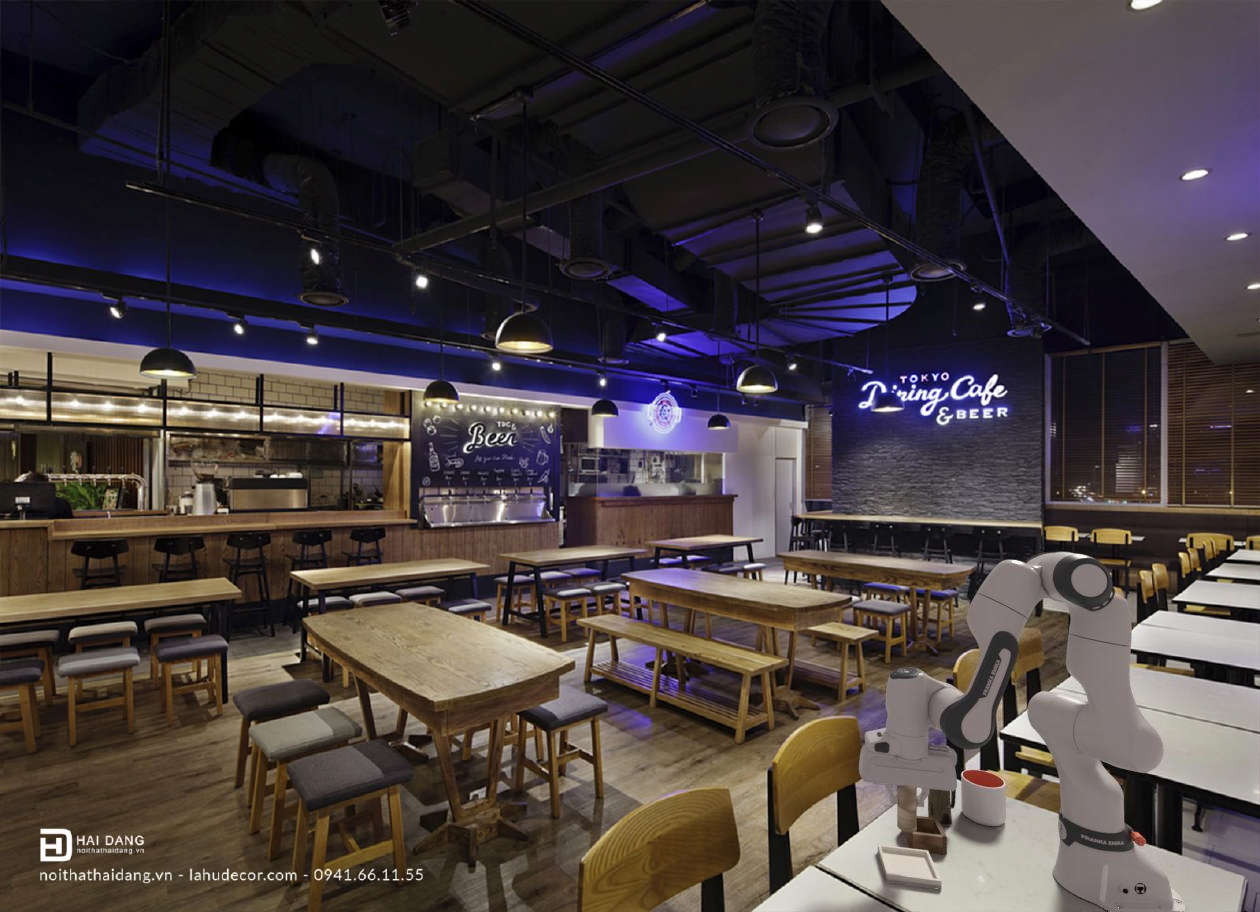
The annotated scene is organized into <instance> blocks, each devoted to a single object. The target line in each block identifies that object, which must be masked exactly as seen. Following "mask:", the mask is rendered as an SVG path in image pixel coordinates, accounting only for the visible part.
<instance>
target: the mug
mask: <svg viewBox="0 0 1260 912" xmlns="http://www.w3.org/2000/svg"><path fill="white" fill-rule="evenodd" d="M956 791H957V788H956V789H955V790H954V791H946V790H937V789H930V793H929V795H928V796H927V814H928V816H927V817H933V818H934V819H938V820H939V822H940V824H941V826H942V828H949V827H951V826H952V825H953V819H952V818H953V817H952V816H953V815H952V810H954V808H955V805H956V794H957V792H956Z"/></svg>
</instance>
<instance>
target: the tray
mask: <svg viewBox="0 0 1260 912" xmlns="http://www.w3.org/2000/svg"><path fill="white" fill-rule="evenodd" d="M877 854H878V858H879V861H880V863H881V867H882V870H883V874H884V877H885V881H886V883H887V882H888V883H889V882H890V883H889V884H894V885H896V884H897V885H903V886H911V887H919V888H925V889H926V888H927V889H933V888H938V889H937V890H940V889H942V878H941V877H940V874H939V872H938V870H937V867H936V865H935V863H934V861H933V858H932V856H931V855H930V854H931V853H929V851H928V850H920V849H911V848H907V847H901V846H893V845H886V844H885V845H883V844H877Z"/></svg>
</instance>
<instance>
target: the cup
mask: <svg viewBox="0 0 1260 912" xmlns="http://www.w3.org/2000/svg"><path fill="white" fill-rule="evenodd" d="M960 773H961V774H960V777H961V778H960V779H961V781H960V783H961V784H960V785H961V788H960V790H961V793H960V794H961V803H960V805H961V810H962V813H963V814H964V815H965V816H966V817H967V818H968V819H969V820H971V821H972V822H974V823H977V824H980V825H981V826H982V825H983V826H987V827H998V826H1002V825H1003V824H1004V823H1005V822H1006V819H1007V809H1006V807H1007V804H1006V800H1007V797H1006V791H1007V790H1006V781H1005V780H1004V779H1003V778H1002V777H1000V776H998V775H997V774H995V773H993V772H989V771H986V770H980V769H965V770H963V771H962V772H960Z"/></svg>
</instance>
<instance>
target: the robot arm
mask: <svg viewBox="0 0 1260 912" xmlns="http://www.w3.org/2000/svg"><path fill="white" fill-rule="evenodd" d="M1110 573H1111V572H1110V571H1109V570H1108V568H1107V567H1106V566H1105V565H1104V563H1102V562H1101V561H1099V560H1098V559H1096V558H1094V557H1092V556H1089V555H1087V554H1082V553H1073V552H1069V551H1056V552H1049V551H1048V552H1041V553H1038V554H1035V555H1033V556H1031V557H1030V558H1028V559H1026V560H1025V561H1020V560H1017V559H1004V560H1002V561H1000V562H998V563H997V565H996V566H995V567H993V569H992V570H991V571H990V572H989V574H988V575H987V576H986V577H985V579H984V580H983V582H982V584H981V585H980V587H979V588H978V590H977V591H976V593H975V595H974V597H973V599H972V600H971V603H970V604H969V607H968V611H967V614H966V623H967V626H968V628H969V630H970V632H971V634H972V636H973V637H974V638H975V640H976V643H977V645H978V649H979V660H978V663H977V665H976V668H975V671H974V673H973V675H972V677H971V680H970V682H969V685H968V687H967V689H966V691H965V692H963V691H962V690H960V689H958V688H957V687H956V686H954V685H953V684H950V683H948V682H944V681H940V680H937V679H936V678H933V677H932V676H930V675H928V674H927V673H925V671H923V670H922V669H920V668H916V667H910V666H909V667H908V666H906V667H898V668H897V669H896V668H895V669H894V670H892V671H891V673H890V674H889V675H888V678H887V682H886V691H885V692H886V693H885V710H886V713H887V718H886V722H885V727H882V728H878V729H874V730H868V731H866V732H865V733H864V740H865V741H864V742H865V743H864V744H863V745H862V746H861V749H860V755H859V762H858V772H859V776H860V778H861V779H862V781H863V782H865V783H873V784H875V783H876V784H884V786H885V788H886V790H887V793H888V794H889V799H890V800H889V801H890V803H891V805H892V804H893V805H897V804H898V796H897V792H893V791H892V790H893V789H894V786H897V785H900V786H903V785H904V786H914V787H917V788H919V789H921V792H920V793H919V795H917V807H919V808H925V800H926V799H928V795H929V793H930V789H937V790H946V791H950V792H951V791H954V790H955V789H956V790H957V788H958V779H957V778H958V777H957V772H956V766H957V764H958V754H957V752H956V750H955V749H953V748H951V746H948V745H939V744H933V743H929V729H930V728H937V729H938V730H939V731H940V732H942V733H943V734H944V736H945V737H946V738H947V739H948V740H949V741H950V742H951V743H952V744H953V745H954V746H956V747H958V748H960V749H963V750H968V751H969V750H977V749H980V748H982V747H984V746H985V745H987V744H988V743H989V742H990V740H991V739H992V737H993V735H994V733H995V730H996V720H997V713H998V709H999V706H1000V703H1001V701H1002V699H1003V696H1004V694H1005V691H1006V688H1007V686H1008V683H1009V681H1010V678H1011V676H1012V674H1013V671H1014V669H1015V665H1016V663H1017V660H1018V656H1019V649H1020V648H1019V643H1020V639H1021V636H1022V633H1023V630H1024V628H1025V625H1026V624H1027V621H1028V619H1029V617H1030V616H1031V614H1032V613H1033V611H1034V608H1035V607H1036V606H1037V605H1038V603H1039V602H1040V601H1042V600H1044V599H1049V600H1052V601H1056V602H1060V603H1065V604H1066V606H1067V608H1068V610H1069V614H1070V616H1069V617H1070V623H1069V629H1068V636H1067V647H1066V655H1065V667H1066V670H1067V672H1068V673H1069V675H1070V676H1071V677H1073V678H1074V679H1075V680H1076V682H1078V683H1079V684H1080V686H1081V687H1082V688H1083V691H1084V693H1085V696H1086V699H1087V700H1085V699H1081V698H1078V697H1075V696H1072V695H1069V694H1067V693H1062V692H1061V693H1060V692H1054V691H1047V690H1046V691H1045V690H1042V691H1040V692H1037V693H1035V694H1034V695H1033V696H1032V697H1031V699H1030V700H1029V702H1028V705H1027V710H1026V711H1027V719H1028V721H1029V722H1028V723H1029V724H1030V726H1031V727H1032V729H1034V730H1035V732H1036V733H1037V735H1039V736H1040V738H1041V739H1042V740H1043V742H1044V743H1045V744H1044V745H1046V747H1047V749H1048V751H1049V753H1050V755H1051V756H1052V757H1051V758H1053V759H1052V760H1053V761H1054V764H1055V767H1056V771H1057V775H1058V779H1059V792H1060V808H1059V810H1058V821H1057V826H1058V827H1057V828H1058V836H1059V844H1058V845H1059V846H1058V852H1057V857H1056V860H1055V864H1054V867H1053V869H1052V874H1053V877H1054V879H1055V880H1056V881H1057V882H1058V883H1059V885H1060V886H1062V887H1063V888H1064V889H1065V890H1067V891H1068V892H1069V893H1071V894H1073V895H1076V896H1077V897H1079V898H1081V899H1083V900H1085V901H1088V902H1090V903H1092V904H1095V905H1096V906H1099V907H1100V908H1102V909H1103V908H1104V910H1106V911H1107V910H1108V911H1107V912H1109V911H1111V912H1180V911H1182V912H1184V911H1186V910H1187V905H1186V903H1185V901H1184V900H1183V898H1182V897H1181V896H1180V894H1179V893H1178V892H1177V891H1176V890H1175V889H1174V888H1173V887H1172V886H1171V884H1170V880H1169V878H1168V875H1167V873H1166V872H1165V870H1164V868H1163V867H1162V866H1161V865H1160V864H1159V862H1157V861H1156V860H1155V859H1154V858H1153V857H1152V856H1151V855H1150V854H1148V853H1147V852H1146V851H1144V850H1143V849H1142V848H1141V847H1144V846H1145V845H1146V843H1147V840H1146V839H1145V837H1144V836H1143V835H1141V834H1140V833H1139V832H1138V831H1134V829H1133V828H1132V826H1130V825H1129V824H1127V823H1126V822H1125V806H1124V803H1125V801H1124V797H1125V796H1124V791H1123V789H1122V787H1121V785H1120V784H1119V781H1117V780H1116V778H1114V777H1113V776H1112V775H1111V774H1110V772H1109V771H1107V770H1106V768H1105V767H1104V766H1103V763H1102V762H1104V763H1107V764H1108V765H1111V766H1113V767H1116V768H1119V769H1124V770H1127V771H1133V772H1137V773H1141V774H1145V773H1149V772H1152V771H1153V770H1154V769H1156V768H1157V767H1158V766H1159V765H1160V764H1161V762H1162V760H1163V757H1164V754H1165V753H1164V751H1165V748H1164V743H1163V739H1162V738H1161V736H1160V734H1159V732H1158V731H1157V729H1155V727H1153V725H1151V724H1150V723H1149V721H1148V720H1147V719H1146V718H1145V716H1144V715H1143V713H1142V712H1141V710H1140V708H1139V706H1138V704H1137V702H1136V700H1135V697H1134V695H1133V692H1132V687H1131V681H1130V680H1131V679H1130V677H1131V676H1130V674H1131V672H1130V669H1131V668H1130V667H1131V653H1132V652H1131V648H1132V639H1133V638H1132V629H1133V628H1132V618H1131V617H1132V615H1131V611H1130V610H1131V609H1130V605H1129V603H1128V600H1127V599H1126V598H1125V597H1123V596H1122V595H1121V594H1119V593H1117V592H1116V589H1115V587H1114V586H1113V580H1112V577H1111V574H1110ZM1176 902H1178V903H1181V904H1178V903H1176ZM1118 907H1119V908H1118Z"/></svg>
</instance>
